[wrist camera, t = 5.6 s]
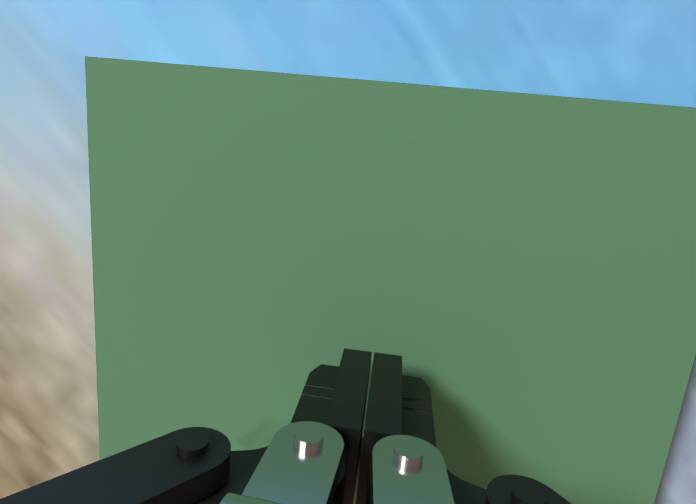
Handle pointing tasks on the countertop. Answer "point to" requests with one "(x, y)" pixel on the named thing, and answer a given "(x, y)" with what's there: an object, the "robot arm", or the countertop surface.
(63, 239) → the countertop surface
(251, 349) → the putting board
